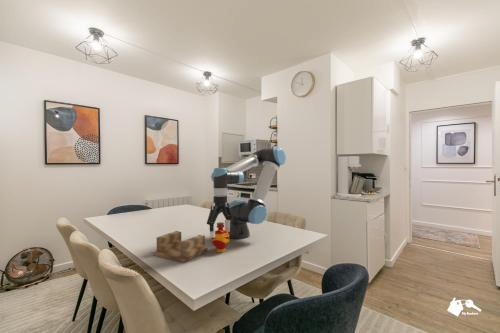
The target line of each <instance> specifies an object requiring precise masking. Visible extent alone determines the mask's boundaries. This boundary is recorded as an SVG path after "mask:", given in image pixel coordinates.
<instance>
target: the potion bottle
mask: <svg viewBox="0 0 500 333" xmlns="http://www.w3.org/2000/svg"><path fill="white" fill-rule="evenodd" d="M216 228H217V230H215V238H213V237H211V242H212V245H213V246H214V247H215V248H216V250H215V251H216V252H217V253H223V252H225V251H226V247H227V246H228V245H229V243H230V239H231V238H229V233H228V232H227V231H225V229H224V228H225V222H223V221H221V222H217V223H216Z"/></svg>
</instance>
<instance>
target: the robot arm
mask: <svg viewBox="0 0 500 333" xmlns="http://www.w3.org/2000/svg"><path fill="white" fill-rule="evenodd" d="M285 163H286V153H285V151H284V149H282V148H281V147H274V148H273V147H272V148H262V149H259V150H257V151H255V152H253V153H251V154H249V155H248V156H247V157H245V158H243V159H241V160H239V161H237V162H234V163H233V164H231V165H229V166H226V167H214V169H213V172H211V176H210V178H211V181H212V182H213V200H212V202H213V203H214V205H210V211H209V214H208V217H207V218H208V219H207V220H206V225H208V226H209V237H210V238H212V237H213V238H215V231H216V225H215V223H216V220H217V219H218V216H220V214H221V213H222V214H223V216H224V218H225V219H224V230H225V231H227V232H228V233H229V239H236V240H240V239H241V240H242V239H247V238H249V237H250V236H251V235H250V234H251V233H250V229H249V226H248V223H249V224H252V225H260V224H262V223H263V222H264V221H265V220H266V218H267V216H268V215H267V213H268V212H267V211H268V210H267V208H266V206H267V205H266V203H265V202H266V199H267V197H268V193H269V191H270V187H271V185H272V182H273V179H274V176H275V173H276V171H278V170H279V169H280V167H281V166H282V165H284V164H285ZM258 166H263V168H262V170H261V172H260V175H259V178H258V181H257V184H256V186H255V188H254V191H253V194H252V196H251V198H249V199H248V200H237V201H231V202H228V196H227V195H228V185H239V184H243V182H244V180H245V174H244V172H245V171H247V170H249V169H252V168H257V167H258Z"/></svg>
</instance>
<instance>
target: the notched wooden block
mask: <svg viewBox="0 0 500 333" xmlns="http://www.w3.org/2000/svg"><path fill="white" fill-rule="evenodd" d="M208 251H209V249H208V247H206V236H205V235H201V234H198V235H196V236H193V237H190V238H188V239H185V240H182V231H179V230H175V231H173V232H169V233H166V234H162V235H160V236H157V237H156V250H155V251H152V252H153V253H152V254H153V256H156V257H160V258H164V259H167V260H168V259H169V260H172V261H176V262H180V263H184V264H185V263H186V262H188V261H190V260H192V259H195V258H196V257H199V256H200V255H202V254H204V253H206V252H208Z"/></svg>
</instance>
